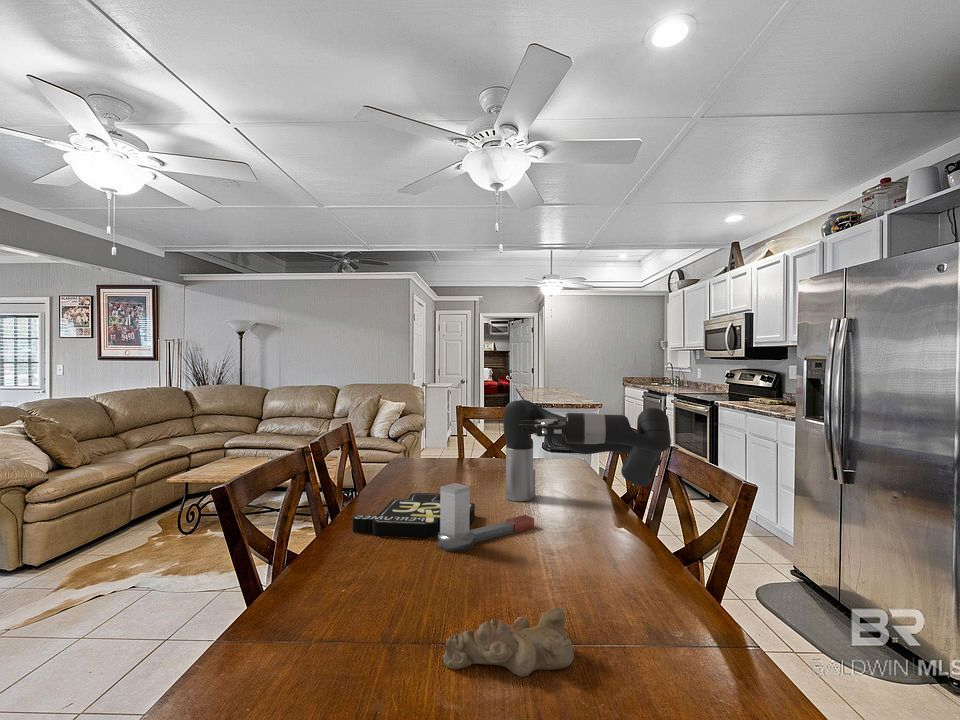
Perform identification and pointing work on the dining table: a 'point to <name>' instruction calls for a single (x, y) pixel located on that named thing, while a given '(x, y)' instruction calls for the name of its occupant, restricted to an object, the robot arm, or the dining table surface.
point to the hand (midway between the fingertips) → (519, 426)
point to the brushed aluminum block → (454, 510)
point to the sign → (406, 518)
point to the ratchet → (485, 533)
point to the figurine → (513, 645)
